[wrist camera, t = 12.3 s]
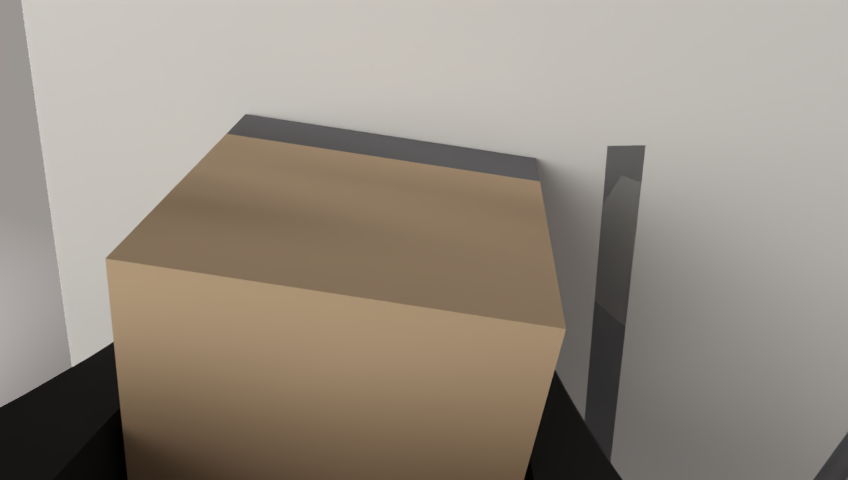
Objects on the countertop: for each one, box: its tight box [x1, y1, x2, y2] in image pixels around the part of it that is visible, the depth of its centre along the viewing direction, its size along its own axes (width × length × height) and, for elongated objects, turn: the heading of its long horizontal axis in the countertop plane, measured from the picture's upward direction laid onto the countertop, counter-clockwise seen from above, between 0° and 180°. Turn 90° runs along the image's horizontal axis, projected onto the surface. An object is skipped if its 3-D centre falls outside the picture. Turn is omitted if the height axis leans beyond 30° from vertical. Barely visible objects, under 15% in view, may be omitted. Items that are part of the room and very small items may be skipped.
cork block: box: [105, 114, 566, 480], centre depth 9 cm, size 7×4×4 cm, turn 172°
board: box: [21, 0, 848, 480], centre depth 12 cm, size 16×24×1 cm, turn 82°
